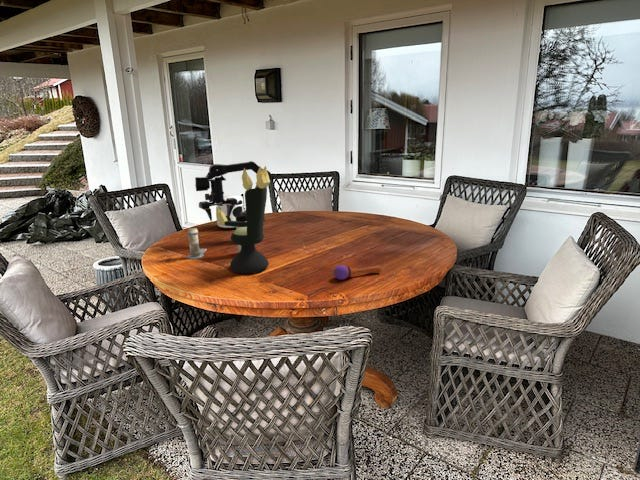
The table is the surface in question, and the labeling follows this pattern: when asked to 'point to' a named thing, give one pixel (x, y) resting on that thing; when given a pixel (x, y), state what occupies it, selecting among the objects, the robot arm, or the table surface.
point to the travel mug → (242, 219)
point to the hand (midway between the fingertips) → (219, 219)
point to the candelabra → (249, 225)
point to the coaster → (195, 257)
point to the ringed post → (193, 242)
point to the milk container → (234, 212)
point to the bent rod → (202, 250)
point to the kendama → (353, 271)
